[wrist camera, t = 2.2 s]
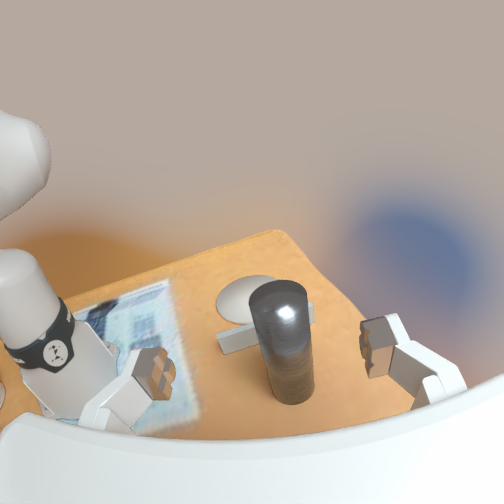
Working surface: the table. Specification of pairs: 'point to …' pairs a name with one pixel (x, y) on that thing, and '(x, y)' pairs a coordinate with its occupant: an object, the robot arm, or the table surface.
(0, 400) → the toilet tissue
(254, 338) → the acrylic wall
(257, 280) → the resting pad
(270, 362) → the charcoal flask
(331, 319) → the table surface
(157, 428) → the table surface
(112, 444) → the robot arm
